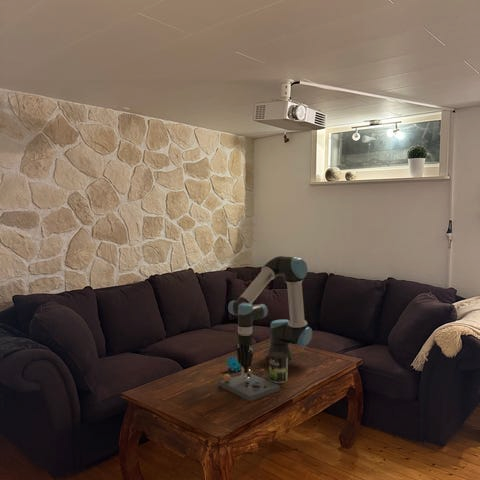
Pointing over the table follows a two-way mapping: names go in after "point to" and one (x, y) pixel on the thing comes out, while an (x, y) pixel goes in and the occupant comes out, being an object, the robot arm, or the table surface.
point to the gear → (233, 364)
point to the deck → (250, 387)
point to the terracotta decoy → (227, 378)
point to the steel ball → (247, 380)
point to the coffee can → (278, 367)
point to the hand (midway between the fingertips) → (244, 378)
